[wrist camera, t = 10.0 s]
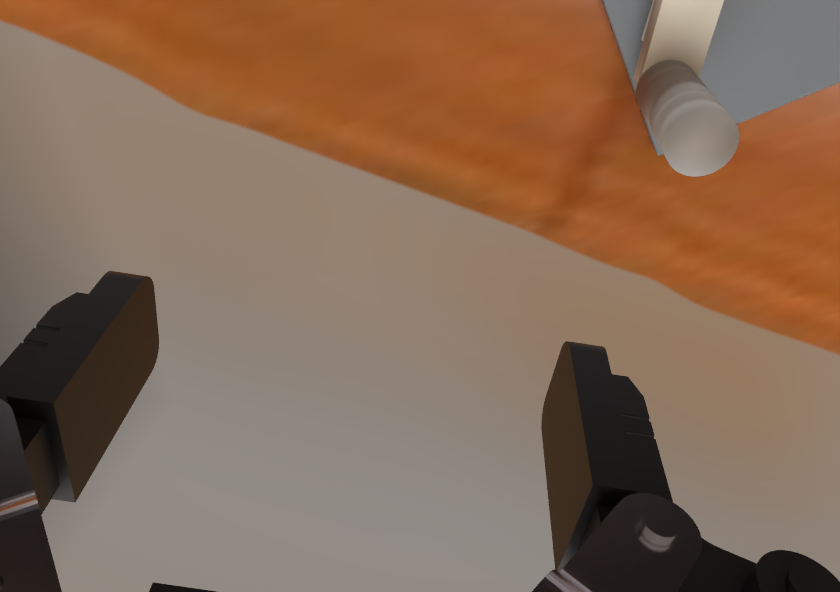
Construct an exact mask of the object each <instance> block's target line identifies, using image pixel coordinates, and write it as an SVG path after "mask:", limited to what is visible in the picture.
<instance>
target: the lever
mask: <svg viewBox="0 0 840 592" xmlns="http://www.w3.org/2000/svg"><path fill="white" fill-rule="evenodd" d="M723 2H724V0H654V3H653V7H652V11H651V14H650V18H649V22H648V25H647V29H646V33H645V36H644V40H643V44H642V47H641V51H640V55H639V58H638V62H637V66H636V69H635V73H634V77H633V78H634V79H635V81H636V83H637V87H636V101H637V104H638V106H639V108H640V110H641V112H642V114H643V116H644V117H645V119H646V121H647V123H648V125H649V127H650V129H651V131H652V133H653V134H654V136H655V138H656V140H657V142H658V144H659V146H660V148H661V150H662V151H663V153H664V155H665V157H666V159H667V161H668V163H669V164H670V166H671V167H672V168H673V169H674V170H676V171H677V172H679V173H681V174H683V175H686V176H694V177H696V176H704V175H708V174H711V173H713V172H715V171H717V170H719V169H720V168H722V167H723V166H724V165H725V164H727V163H728V162H729V160H730V159H731V158H732V157H733V155H734V153H735V151H736V149H737V146H738V143H739V131H738V127H737V125H736V123H735V122H734V120H733V119H732V118H731V116H730V115H729V114H728V113H727V111H726V110H725V109H724V108H723V106H722V105H721V104H720V103H719V102H718V100H717V99H716V98H715V97H714V95H713V94H712V93H711V92H710V90H709V89H708V88H707V87H706V86H705V84H704V83H703V82H702V81H701V79H700V78H699V76H700V73H701V70H702V67H703V64H704V61H705V58H706V54H707V51H708V48H709V45H710V42H711V39H712V36H713V33H714V30H715V27H716V24H717V21H718V18H719V15H720V11H721V8H722V5H723Z"/></svg>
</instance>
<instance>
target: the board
mask: <svg viewBox="0 0 840 592" xmlns="http://www.w3.org/2000/svg"><path fill="white" fill-rule="evenodd" d="M602 3H603V6H604V8H605V11H606V14H607V17H608V20H609V23H610V25H611V28H612V31H613V34H614V37H615V40H616V43H617V45H618V48H619V51H620V54H621V57H622V60H623V62H624V65H625V68H626V71H627V74H628V77H629V79H630V82H631V85H632V88H633V91H634V94H635V96H636V87H637V83H636V81H635V79H634V78H633V77H634V73H635V69H636V66H637V62H638V58H639V55H640V51H641V47H642V44H643V40H644V36H645V33H646V29H647V25H648V22H649V18H650V14H651V11H652V7H653V3H654V0H602ZM699 78H700V79H701V81H702V82H703V83H704V84H705V86H706V87H707V88H708V89H709V90H710V92H711V93H712V94H713V95H714V97H715V98H716V99H717V100H718V102H719V103H720V104H721V105H722V106H723V108H724V109H725V110H726V111H727V113H728V114H729V115H730V116H731V118H732V119H733V120H734V122H735V123H736V124H738V123H741V122H743V121H746V120H748V119H751V118H753V117H755V116H758V115H760V114H763V113H765V112H768V111H770V110H773V109H775V108H778V107H780V106H783V105H785V104H787V103H790V102H792V101H795V100H797V99H800V98H802V97H805V96H807V95H810V94H812V93H814V92H817V91H819V90H822V89H824V88H827V87H829V86H832V85H834V84H837V83H839V82H840V0H724V2H723V5H722V8H721V11H720V15H719V18H718V21H717V24H716V27H715V30H714V33H713V36H712V39H711V42H710V45H709V48H708V51H707V54H706V58H705V61H704V64H703V67H702V70H701V73H700V76H699ZM640 111H641V110H640ZM641 113H642V112H641ZM642 116H643V114H642ZM643 119H644V122H645V125H646V128H647V130H648V133H649V136H650V139H651V142H652V145H653V147H654V149H655V151H656V153H657V155H658V156H660V155H662V154H664V153H663V151H662V150H661V148H660V146H659V144H658V142H657V140H656V138H655V136H654V134H653V133H652V131H651V129H650V127H649V125H648V123H647V121H646V119H645V117H644V116H643Z"/></svg>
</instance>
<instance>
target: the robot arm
mask: <svg viewBox="0 0 840 592" xmlns="http://www.w3.org/2000/svg"><path fill="white" fill-rule="evenodd" d="M158 349H159V334H158V324H157V314H156V303H155V293H154V285H153V281H152V279H151V278H150V277H147V276H140V275H133V274H127V273H120V272H113V271H109V272H107V273H106V274H105V275H104V276H103V277H102V278H101V279H100V281H99V282H98V283H97V284H96V286H95V287H94V288H93V289H92V291H91V292H90V293H89V294H84V293H75V294H73V295H71V296H70V297H68V298H66V299H65V300H63V301H61V302H59V303H58V304H56V305H54V306H52V307H51V308H50V310H49V311H48V312H47V313H46V314H45V316H44V317H43V318H42V319H41V320H40V321H39V322H38V324H37V327H36V328H33V329H32V331H31V332H30V333H29V334H28V335H27V336H26V337H25V339H24V343H20V344H19V346H18V347H17V348H16V349H15V350H14V351H13V352H12V354H11V355H10V356H9V357H8V358H7V360H6V361H5V362H4V363H3V364H2V365H1V366H0V592H62V591H61V587H60V583H59V579H58V576H57V572H56V568H55V565H54V561H53V557H52V553H51V549H50V546H49V542H48V538H47V535H46V531H45V527H44V523H43V520H42V516H41V515H42V513H43V511H44V510H45V508H46V507H47V505H48V503H49V502H50V500H51V499H55V500H63V501H69V502H76V500H77V499H78V497H79V495H80V494H81V492H82V490H83V488H84V487H85V485H86V483H87V481H88V480H89V478H90V476H91V475H92V473H93V471H94V470H95V468H96V466H97V465H98V463H99V461H100V459H101V458H102V456H103V454H104V453H105V451H106V449H107V447H108V446H109V444H110V442H111V441H112V439H113V437H114V435H115V434H116V432H117V430H118V429H119V427H120V425H121V423H122V421H123V420H124V418H125V417H126V415H127V413H128V411H129V409H130V408H131V406H132V405H133V403H134V401H135V399H136V398H137V396H138V394H139V393H140V391H141V389H142V387H143V386H144V384H145V382H146V381H147V379H148V377H149V376H150V374H151V372H152V370H153V368H154V366H155V363H156V359H157V355H158ZM542 439H543V448H544V458H545V469H546V478H547V489H548V499H549V510H550V520H551V530H552V540H553V550H554V561H555V570H552V571H551V572H549V573H548V574H547V575H546V576H545V577H544V578H543V579H542V581H541V582H540V583H539V584H538V585H537V586H536V588H535V589H534V590H533V591H532V592H840V582H839V581H838V579H837V578H836V577H835V576H834V575H833V574H832V573H830V571H828V570H827V569H826V568H825V567H823V566H822V565H820V564H819V563H817V562H816V561H814V560H812V559H810V558H808V557H807V556H804V555H802V554H799V553H795V552H792V551H785V550H776V551H771V552H769V553H767V554H765V555H764V556H763V557H761V559H760V560H759V562H758V563H757V564H756V563H754V562H751V561H749V560H747V559H744V558H742V557H740V556H737V555H735V554H733V553H730V552H728V551H725V550H723V549H720V548H718V547H716V546H714V545H712V544H710V543H709V542H707V541H706V540H704V539H703V538H701V535H700V531H699V529H698V527H697V525H696V524H695V522H694V521H693V519H692V518H691V517H690V516H689V515H688V514H687V513H686V512H685V511H684V510H683V509H682V508H680V507H679V506H678V505H676V504H675V503H673V501H672V497H671V493H670V490H669V487H668V483H667V479H666V476H665V473H664V468H663V465H662V461H661V458H660V454H659V450H658V447H657V443H656V440H655V439H654V432H653V429H652V425H651V422H649V414H648V411H647V407H646V403H645V400H644V397H643V395H642V394H641V393H640V392H639V391H638V389H637V388H636V386H635V385H634V384H633V383H632V381H631V380H630V379H629V378H628V377H626V376H619V375H613V374H611V370H610V365H609V361H608V357H607V353H606V350H605V348H604V347H600V346H595V345H588V344H581V343H575V342H568V341H566V342H565V343H564V344H563V346H562V348H561V351H560V354H559V357H558V360H557V364H556V367H555V370H554V373H553V376H552V379H551V382H550V385H549V389H548V392H547V395H546V398H545V402H544V406H543V413H542ZM149 592H215V591H208V590H201V589H194V588H187V587H180V586H173V585H166V584H159V583H153V584H152V586H151V588H150V591H149Z"/></svg>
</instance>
